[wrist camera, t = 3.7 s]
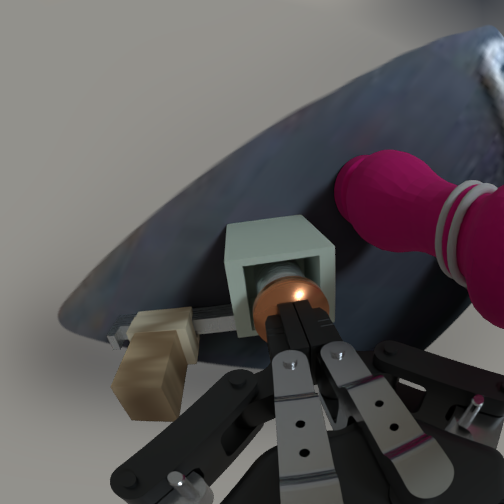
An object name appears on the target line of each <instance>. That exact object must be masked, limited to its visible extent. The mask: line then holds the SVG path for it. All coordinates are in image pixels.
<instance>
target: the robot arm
mask: <svg viewBox="0 0 504 504" xmlns="http://www.w3.org/2000/svg"><path fill="white" fill-rule="evenodd" d="M463 287H464V286H463ZM465 288H466V289H467V287H465ZM277 313H278V314H277V315H270V316H268V317H267V319H266V321H265V328H266V336H267V344H268V350H269V356H270V361H271V363H270V364H269V366H268V367H267V368H266V369H264V370H263V371H260V372H258V373H256V374H253V373H252V372H250V371H248V370H243V369H238V370H233V371H230V372H228V373H226V374H225V375H224V376H223V377H222V378H221V379H220V380H219V381H217V382H216V383H215V384H214V385H213V386H212V387H211V388H210V389H209V390H208V391H207V392H206V393H205V394H204V395H203V396H202V397H200V398H199V399H198V400H197V401H196V402H195V403H194V404H193V405H192V406H191V407H189V408H188V409H187V410H186V411H185V412H184V413H183V414H182V415H181V416H179V417H178V418H177V419H176V420H175V421H174V422H173V423H171V424H170V425H169V426H168V427H167V428H166V429H165V430H163V431H162V432H161V433H160V434H159V435H157V436H156V437H155V438H154V439H153V440H152V441H151V442H149V443H148V444H147V445H146V446H145V447H143V448H142V449H141V450H139V451H138V452H137V453H136V454H134V455H133V456H132V457H131V458H129V459H128V460H127V461H126V462H124V463H123V464H122V465H120V466H119V467H118V468H117V469H116V470H115V471H114V472H113V473H112V475H111V478H110V485H111V488H112V490H113V491H114V493H115V494H117V495H118V496H119V497H120V498H122V499H123V500H125V501H126V502H127V503H128V504H212V503H213V499H214V495H213V492H212V490H211V489H210V486H211V485H212V484H213V483H214V482H215V481H216V479H217V478H218V477H219V476H220V475H221V474H222V473H223V472H224V471H225V470H226V469H227V468H228V467H229V466H230V465H231V463H232V462H233V461H234V460H235V459H236V458H237V457H238V456H239V454H240V453H241V452H242V451H243V450H244V449H245V448H246V446H247V445H248V444H249V443H250V442H251V440H252V439H253V438H254V437H255V436H256V434H257V433H258V432H259V431H260V430H261V428H262V427H263V425H264V423H265V422H267V421H269V420H272V419H274V418H276V430H277V446H275V447H273V448H271V449H269V450H268V451H266V452H265V453H263V454H262V455H261V456H260V457H259V458H258V459H257V460H256V461H255V462H254V463H253V464H252V465H251V467H250V468H249V469H248V471H247V472H246V473H245V474H244V476H243V477H242V478H241V479H240V481H239V482H238V483H237V484H236V485H235V487H234V488H233V489H232V490H231V491H230V493H229V494H228V495H227V496H226V497H225V498H224V500H223V501H222V502H221V503H220V504H504V458H503V456H502V455H501V453H500V452H499V451H497V450H496V448H497V444H498V441H499V438H500V433H501V430H502V426H503V422H504V375H501V374H497V373H494V372H490V371H487V370H484V369H480V368H477V367H474V366H470V365H467V364H464V363H461V362H457V361H454V360H451V359H448V358H445V357H441V356H439V355H436V354H432V353H429V352H426V351H423V350H420V349H417V348H414V347H411V346H408V345H406V344H403V343H400V342H397V341H391V340H388V341H383V342H380V343H379V344H377V345H376V347H375V349H374V351H356V350H355V349H354V348H353V347H352V346H351V345H350V344H348V343H346V342H343V340H342V339H341V337H340V335H339V333H338V331H337V330H336V328H335V326H334V325H333V322H332V321H331V320H330V317H329V315H328V314H327V312H326V311H324V310H323V309H321V308H320V307H318V308H312V307H311V305H310V303H309V301H308V299H306V300H300V301H294V302H288V303H282V304H277ZM399 378H402V379H404V380H407V381H410V382H413V383H415V384H418V385H420V386H423V387H424V388H425V389H426V391H421V390H418V389H415V388H412V387H410V386H407V385H405V384H402V383H400V382H399ZM314 385H318V388H319V395H318V393H315V390H314ZM320 402H321V403H320ZM321 404H322V406H323V408H324V410H325V412H326V415H327V417H328V419H329V422H330V424H331V426H332V428H333V431H327V430H326V426H325V421H324V417H323V412H322V408H321Z"/></svg>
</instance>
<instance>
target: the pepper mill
mask: <svg viewBox="0 0 504 504" xmlns="http://www.w3.org/2000/svg"><path fill="white" fill-rule="evenodd" d="M334 197H335V202H336V205H337V208H338V210H339V212H340V213H341V215H342V216H343V217H344V218H345V219H346V220H347V221H348V222H349V223H351V224H352V225H353V227H354V229H355V230H356V232H357V233H358V234H359V235H360V236H361V238H362V239H364V240H365V241H366V242H368V243H370V244H372V245H374V246H376V247H378V248H380V249H382V250H387V251H392V252H409V251H420V252H425V253H428V254H430V255H432V256H435V257H436V258H437V261H438V264H439V266H440V268H441V270H442V271H443V272H444V273H445V274H446V275H447V276H448V277H450V278H452V279H454V280H455V281H456V282H457V283H458V284H459V285H461V286H464V287H467V290H468V293H469V297H470V300H471V302H472V304H473V306H474V307H475V309H476V310H477V311H478V312H479V313H480V314H481V315H482V317H483V318H484V319H486V320H488V321H489V322H490V323H492V324H493V325H495V326H497V327H499V328H502V329H504V185H503V186H501V187H499V188H497V187H495V186H494V185H492V184H489V183H484V184H483V183H482V182H480V181H476V180H470V181H466V182H463V183H462V184H460V185H459V186H457V185H455V184H452V183H449V182H447V181H445V180H444V179H442V178H441V177H439V176H438V175H437V174H436V173H435V172H433V170H432V169H431V168H430V167H429V166H428V165H427V164H426V163H424V162H423V161H422V160H420V159H418V158H417V157H415V156H413V155H411V154H409V153H406V152H401V151H396V150H382V151H379V152H376V153H373V154H371V155H361V156H357V157H355V158H353V159H351V160H350V161H348V162H347V163H346V164H345V165H344V166H343V167H342V168H341V170H340V172H339V174H338V176H337V178H336V182H335V188H334Z"/></svg>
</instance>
